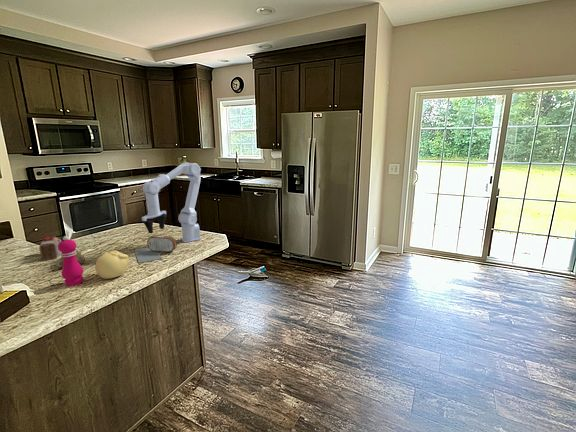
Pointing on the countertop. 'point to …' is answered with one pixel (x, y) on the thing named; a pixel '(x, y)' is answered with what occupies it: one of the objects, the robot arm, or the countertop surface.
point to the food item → (49, 248)
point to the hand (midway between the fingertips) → (156, 230)
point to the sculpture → (111, 264)
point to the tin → (161, 243)
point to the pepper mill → (70, 263)
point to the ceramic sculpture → (79, 258)
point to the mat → (147, 255)
